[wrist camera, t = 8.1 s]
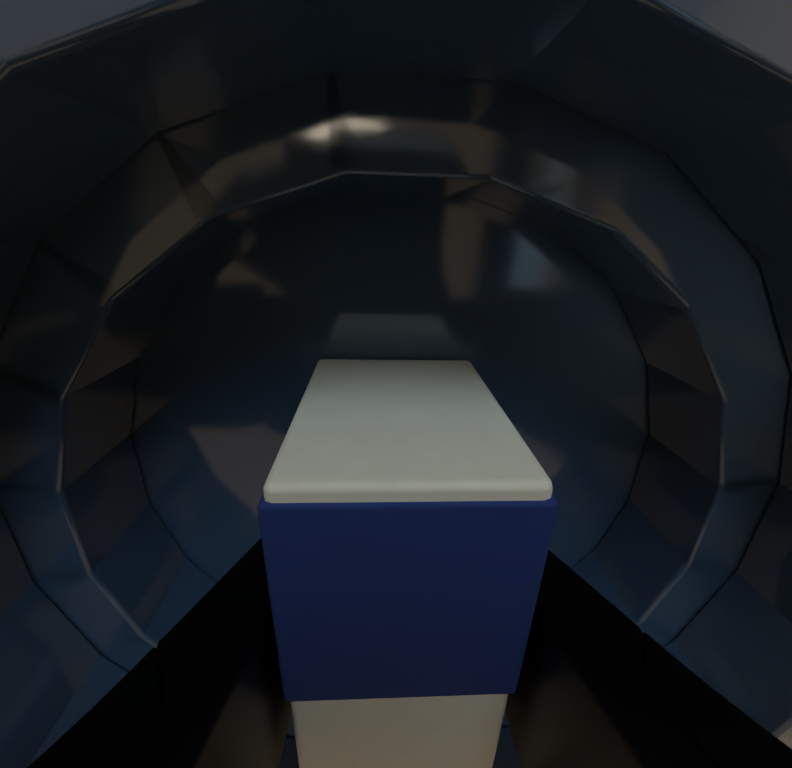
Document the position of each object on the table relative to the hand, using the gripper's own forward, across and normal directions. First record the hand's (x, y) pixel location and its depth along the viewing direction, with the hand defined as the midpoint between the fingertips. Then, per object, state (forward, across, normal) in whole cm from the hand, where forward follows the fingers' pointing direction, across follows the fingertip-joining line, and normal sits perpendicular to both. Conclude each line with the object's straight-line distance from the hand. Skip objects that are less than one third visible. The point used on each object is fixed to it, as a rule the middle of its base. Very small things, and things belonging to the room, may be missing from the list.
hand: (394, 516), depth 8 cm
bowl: (+2, 0, 0) cm, 2 cm away
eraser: (+1, 0, 0) cm, 1 cm away
